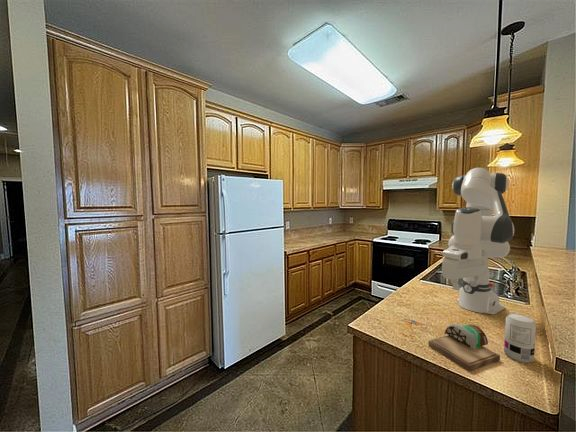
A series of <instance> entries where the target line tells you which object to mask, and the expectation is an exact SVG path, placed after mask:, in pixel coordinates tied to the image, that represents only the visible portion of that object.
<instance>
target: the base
mask: <svg viewBox="0 0 576 432" xmlns="http://www.w3.org/2000/svg"><path fill="white" fill-rule="evenodd" d="M428 347H430V348H432V349H433V350H434V351H436V352H438V353H440V354H441V355H442V356H444V357H445V358H447V359H448V360H450V361H451V362H454V363H455V364H457V365H458V366H460V367H461V368H463V369H465V370H466V371H468V372H472V371H474V370H477V369H480V368H483V367H486V366H488V365H491V364H494V363H497V362H500V361H501V355H500V354H498V353H497V352H494V351H493V350H491V349H488V348H487V347H486V346H485V347H484V346H481V347H478V348H476V350H471V348H470V347H468V346H467V345H465V344H463V343H461V342H459V341H457V340H456V339H454V338H453V337H451V336H450V335H448V334H447V335H444V336H442V337H437V338H434V339H430V340H428Z"/></svg>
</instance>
